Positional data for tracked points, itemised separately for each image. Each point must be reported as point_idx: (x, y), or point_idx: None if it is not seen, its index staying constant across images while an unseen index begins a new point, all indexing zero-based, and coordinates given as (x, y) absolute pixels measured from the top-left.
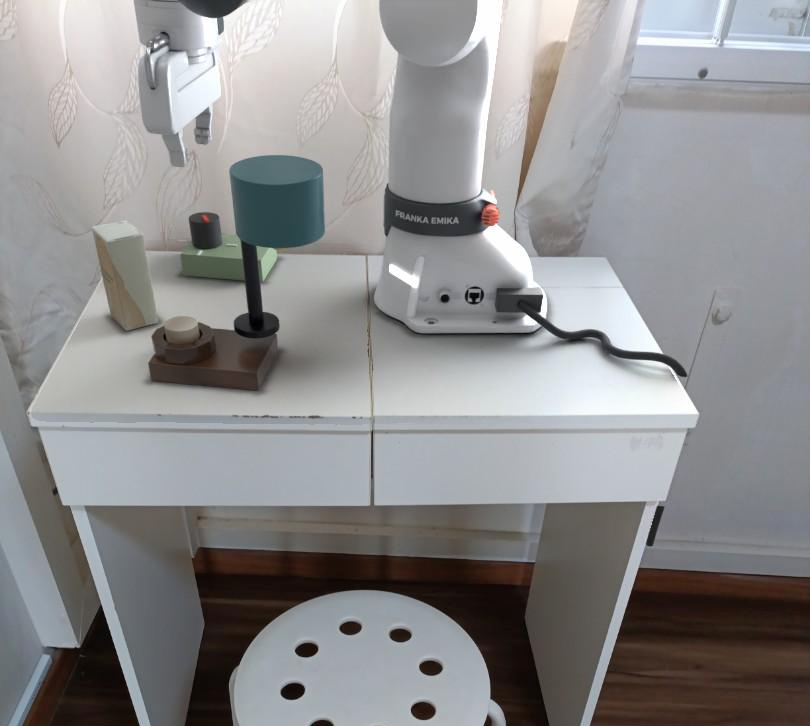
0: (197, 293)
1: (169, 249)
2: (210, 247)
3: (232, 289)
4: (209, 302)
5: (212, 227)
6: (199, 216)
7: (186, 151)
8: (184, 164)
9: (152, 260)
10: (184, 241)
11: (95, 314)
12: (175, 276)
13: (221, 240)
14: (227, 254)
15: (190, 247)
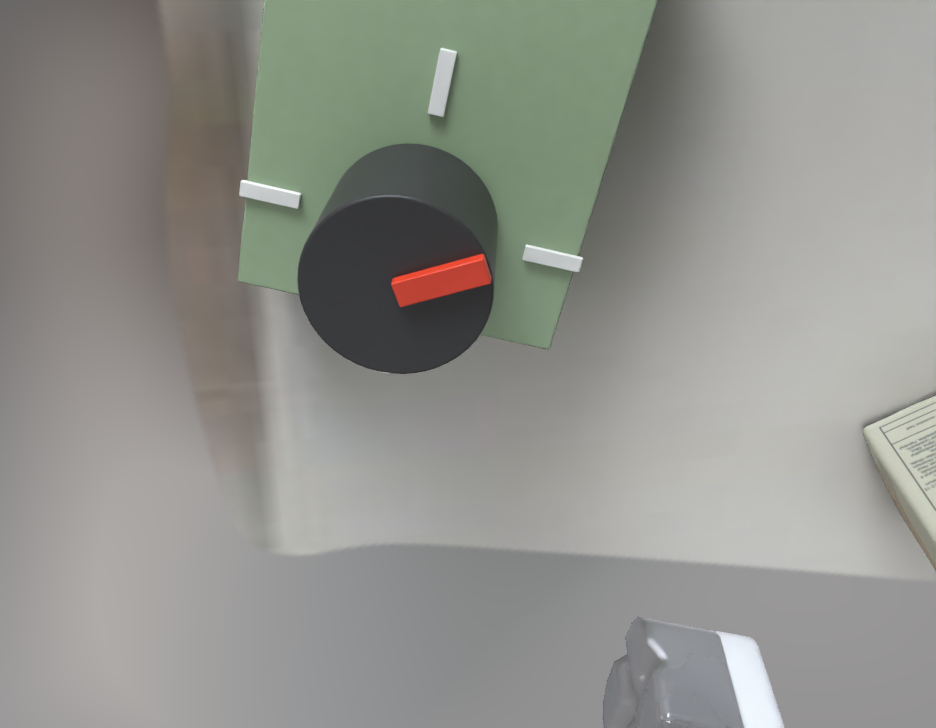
0: (756, 222)
1: (240, 378)
2: (493, 206)
3: (741, 48)
4: (875, 159)
5: (479, 223)
6: (381, 316)
7: (688, 706)
8: (753, 645)
9: (370, 432)
10: None
11: (869, 562)
12: None
13: (421, 150)
14: (580, 101)
15: None
